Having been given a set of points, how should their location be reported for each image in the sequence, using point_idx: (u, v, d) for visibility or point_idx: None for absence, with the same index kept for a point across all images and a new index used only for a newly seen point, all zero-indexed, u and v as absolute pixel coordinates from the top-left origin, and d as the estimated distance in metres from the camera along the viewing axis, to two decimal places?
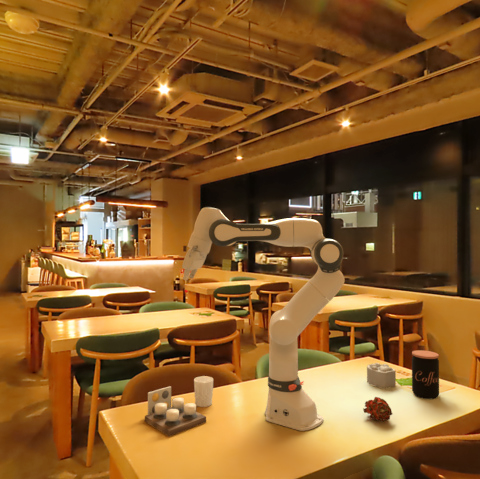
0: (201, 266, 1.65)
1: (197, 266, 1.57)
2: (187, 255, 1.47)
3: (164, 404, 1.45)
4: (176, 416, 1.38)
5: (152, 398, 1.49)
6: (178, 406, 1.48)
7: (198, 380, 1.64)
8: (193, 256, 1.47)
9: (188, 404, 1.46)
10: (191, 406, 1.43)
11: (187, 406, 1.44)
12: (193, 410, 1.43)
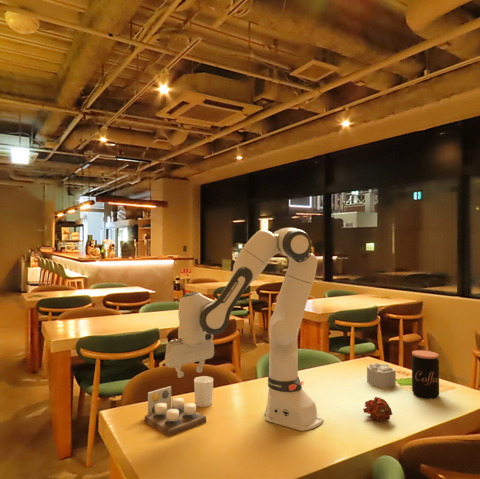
0: (211, 356, 1.50)
1: (194, 359, 1.44)
2: (166, 352, 1.39)
3: (164, 404, 1.45)
4: (176, 416, 1.38)
5: (152, 398, 1.49)
6: (178, 406, 1.48)
7: (198, 380, 1.64)
8: (170, 352, 1.38)
9: (188, 404, 1.46)
10: (191, 406, 1.43)
11: (187, 406, 1.44)
12: (193, 410, 1.43)
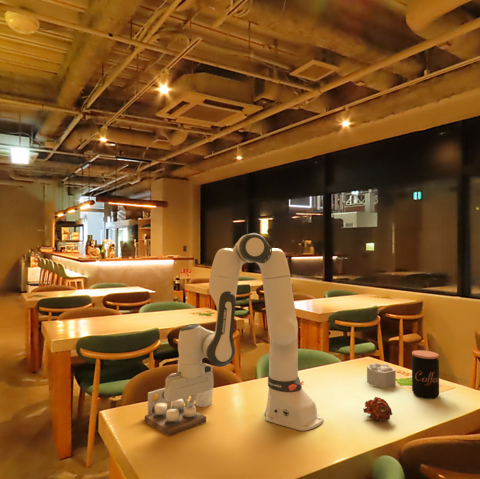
0: (210, 387, 1.49)
1: (194, 392, 1.44)
2: (165, 386, 1.39)
3: (164, 404, 1.45)
4: (176, 416, 1.38)
5: (152, 398, 1.49)
6: (178, 406, 1.48)
7: None
8: (169, 386, 1.38)
9: None
10: (191, 409, 1.43)
11: None
12: (193, 412, 1.43)
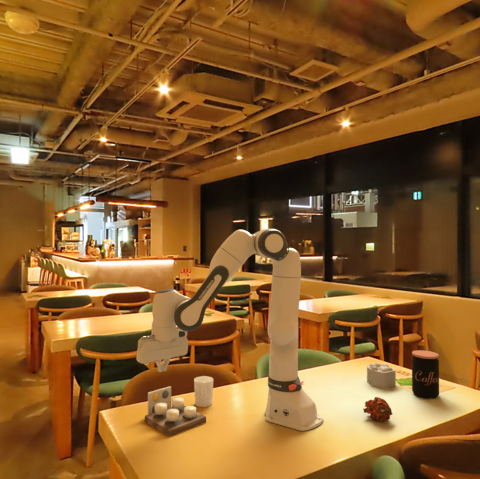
0: (184, 353, 1.49)
1: (167, 355, 1.44)
2: (138, 348, 1.39)
3: (164, 404, 1.45)
4: (176, 416, 1.38)
5: (152, 398, 1.49)
6: (178, 406, 1.48)
7: (198, 380, 1.64)
8: (142, 348, 1.38)
9: (188, 407, 1.45)
10: (191, 409, 1.43)
11: (187, 409, 1.44)
12: (193, 413, 1.43)
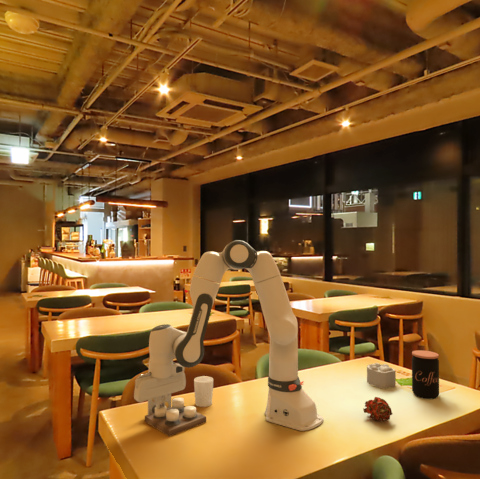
0: (182, 388, 1.50)
1: (165, 392, 1.44)
2: (135, 386, 1.39)
3: (164, 407, 1.45)
4: (176, 416, 1.38)
5: None
6: (178, 406, 1.48)
7: (198, 380, 1.64)
8: (139, 387, 1.38)
9: (188, 407, 1.45)
10: (191, 409, 1.43)
11: (187, 409, 1.44)
12: (193, 413, 1.43)
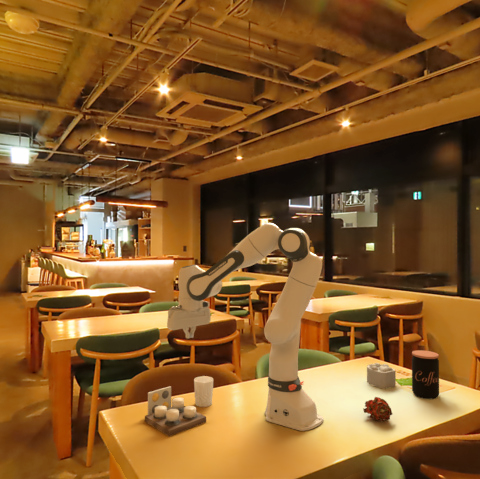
0: (207, 322, 1.68)
1: (193, 323, 1.63)
2: (168, 317, 1.57)
3: (164, 407, 1.45)
4: (176, 416, 1.38)
5: (152, 398, 1.49)
6: (178, 406, 1.48)
7: (198, 380, 1.64)
8: (172, 316, 1.56)
9: (188, 407, 1.45)
10: (191, 409, 1.43)
11: (187, 409, 1.44)
12: (193, 413, 1.43)
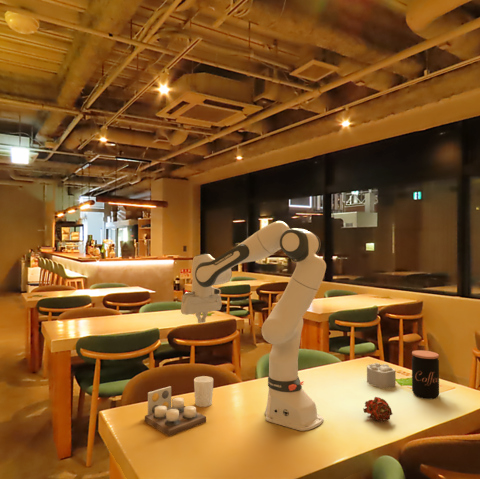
0: (219, 308, 1.77)
1: (205, 309, 1.72)
2: (182, 302, 1.67)
3: (164, 407, 1.45)
4: (176, 416, 1.38)
5: (152, 398, 1.49)
6: (178, 406, 1.48)
7: (198, 380, 1.64)
8: (185, 301, 1.66)
9: (188, 407, 1.45)
10: (191, 409, 1.43)
11: (187, 409, 1.44)
12: (193, 413, 1.43)
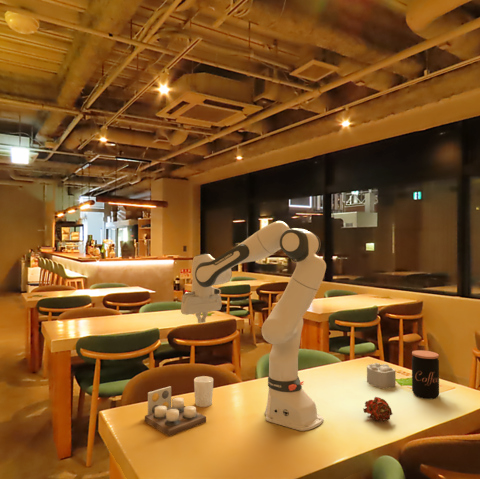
0: (219, 308, 1.77)
1: (205, 309, 1.72)
2: (182, 302, 1.67)
3: (164, 407, 1.45)
4: (176, 416, 1.38)
5: (152, 398, 1.49)
6: (178, 406, 1.48)
7: (198, 380, 1.64)
8: (185, 301, 1.66)
9: (188, 407, 1.45)
10: (191, 409, 1.43)
11: (187, 409, 1.44)
12: (193, 413, 1.43)
